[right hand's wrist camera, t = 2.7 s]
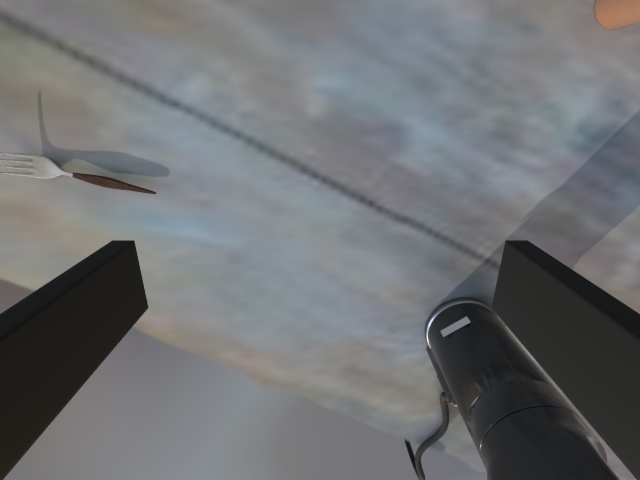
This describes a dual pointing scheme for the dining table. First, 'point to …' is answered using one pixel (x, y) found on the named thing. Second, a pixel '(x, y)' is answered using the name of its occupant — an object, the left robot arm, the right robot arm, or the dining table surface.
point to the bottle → (617, 13)
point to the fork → (65, 173)
